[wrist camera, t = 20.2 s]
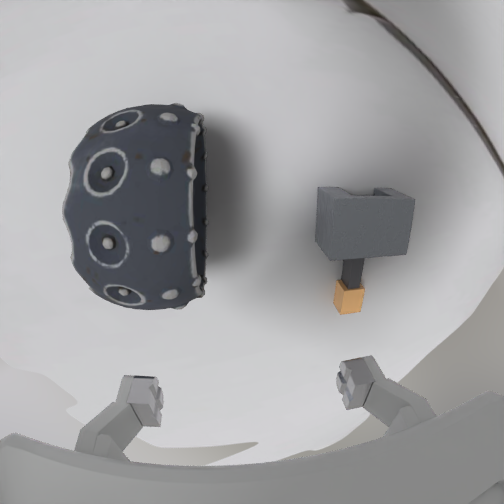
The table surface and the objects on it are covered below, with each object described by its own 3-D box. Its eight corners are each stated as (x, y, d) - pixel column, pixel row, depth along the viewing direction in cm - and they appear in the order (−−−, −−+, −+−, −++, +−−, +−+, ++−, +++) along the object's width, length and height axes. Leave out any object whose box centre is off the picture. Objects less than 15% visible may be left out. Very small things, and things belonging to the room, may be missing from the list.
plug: (344, 197, 39) (354, 203, 36) (366, 197, 39) (377, 203, 36) (333, 302, 46) (340, 314, 43) (352, 300, 47) (360, 311, 44)
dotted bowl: (209, 109, 33) (194, 85, 14) (210, 255, 41) (205, 356, 23) (127, 115, 32) (41, 110, 13) (138, 256, 40) (88, 350, 22)
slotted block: (317, 187, 38) (334, 198, 32) (390, 188, 39) (415, 199, 33) (315, 241, 41) (330, 260, 36) (384, 237, 42) (406, 254, 36)
